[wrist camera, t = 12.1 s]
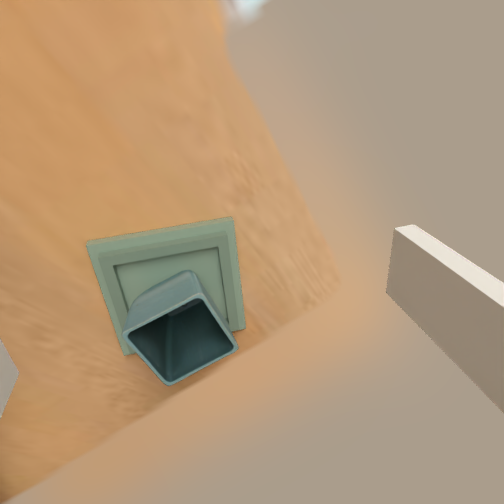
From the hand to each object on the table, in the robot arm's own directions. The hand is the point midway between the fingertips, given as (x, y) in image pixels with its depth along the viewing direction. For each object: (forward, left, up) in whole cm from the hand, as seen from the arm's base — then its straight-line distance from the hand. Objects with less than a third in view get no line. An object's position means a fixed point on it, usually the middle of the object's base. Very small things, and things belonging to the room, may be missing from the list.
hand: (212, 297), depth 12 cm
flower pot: (-3, -18, -28) cm, 33 cm away
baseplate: (-3, -18, -29) cm, 34 cm away
